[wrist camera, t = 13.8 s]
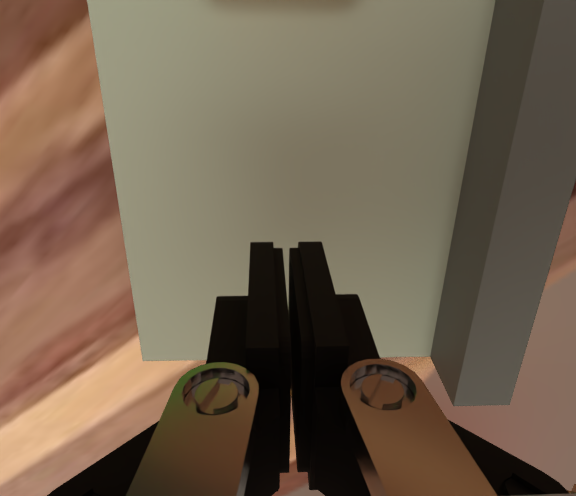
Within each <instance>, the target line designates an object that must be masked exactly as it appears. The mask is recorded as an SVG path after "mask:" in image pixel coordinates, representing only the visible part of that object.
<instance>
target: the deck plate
mask: <svg viewBox="0 0 576 496" xmlns="http://www.w3.org/2000/svg"><path fill="white" fill-rule="evenodd" d="M87 2H88V9H89V15H90V22H91V28H92V35H93V41H94V48H95V54H96V61H97V67H98V74H99V80H100V87H101V93H102V100H103V106H104V113H105V119H106V126H107V132H108V138H109V145H110V151H111V158H112V164H113V171H114V177H115V184H116V190H117V197H118V203H119V210H120V216H121V223H122V229H123V236H124V242H125V249H126V255H127V262H128V268H129V275H130V281H131V288H132V294H133V300H134V307H135V313H136V320H137V326H138V333H139V339H140V346H141V352H142V359H143V361H174V360H207V355H208V348H209V342H210V335H211V329H212V322H213V316H214V310H215V303H216V298H217V296H248V284H249V262H250V242H273V246H274V248H283V259H284V270H285V281H286V292H287V303H288V298H289V249H290V248H298V242H315V241H321V242H322V244H323V248H324V252H325V256H326V260H327V263H328V267H329V271H330V275H331V278H332V282H333V286H334V290H335V294H357V295H358V296H359V298H360V301H361V304H362V307H363V310H364V313H365V316H366V319H367V322H368V325H369V328H370V330H371V333H372V336H373V339H374V342H375V345H376V348H377V351H378V354H379V357H431V359H432V361H433V364H434V366H435V368H436V370H437V372H438V374H439V376H440V379H441V381H442V383H443V385H444V387H445V389H446V391H447V393H448V396H449V397H450V400H451V402H452V404H453V406H478V405H479V406H480V405H510V401H511V398H512V395H513V391H514V388H515V384H516V381H517V378H518V374H519V371H520V367H521V364H522V361H523V357H524V354H525V350H526V347H527V344H528V340H529V337H530V333H531V329H532V327H533V323H534V320H535V316H536V313H537V309H538V306H539V303H540V299H541V296H542V292H543V289H544V286H545V282H546V279H547V275H548V272H549V269H550V265H551V262H552V258H553V255H554V251H555V248H556V245H557V241H558V238H559V234H560V231H561V228H562V224H563V221H564V217H565V214H566V211H567V207H568V204H569V200H570V197H571V193H572V190H573V187H574V183H575V180H576V0H87Z"/></svg>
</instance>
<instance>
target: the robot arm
mask: <svg viewBox="0 0 576 496" xmlns="http://www.w3.org/2000/svg"><path fill="white" fill-rule="evenodd" d="M291 397H292V410H293V422H294V435H295V447H296V460H297V470H298V472H308V480H309V489H310V490H319V491H320V492H321V493H323V494H324V495H325V496H576V484H574V486H573V488H572V491H568V490H566V489H565V488H564V487H563V486H562V485H561V484H560V483H559V482H557V481H556V480H554V479H553V478H551V477H550V476H548V475H547V474H545V473H544V472H542V471H540V470H538V469H537V468H535V467H533V466H531V465H529V464H527V463H526V462H524V461H522V460H520V459H518V458H517V457H515V456H513V455H511V454H509V453H508V452H506V451H504V450H502V449H500V448H498V447H497V446H495V445H493V444H491V443H489V442H487V441H486V440H484V439H482V438H480V437H479V436H477V435H475V434H473V433H471V432H469V431H468V430H466V429H464V428H462V427H460V426H459V425H457V424H455V423H453V422H451V421H449V420H448V419H447V418H446V416H445V415H444V413H443V412H442V410H441V409H440V407H439V406H438V404H437V403H436V401H435V400H434V398H433V397H432V395H431V394H430V392H429V390H428V389H427V387H426V386H425V384H424V383H423V381H422V380H421V379H420V378H419V377H418V375H417V374H416V373H415V372H413V371H412V370H410V369H409V368H407V367H406V366H404V365H402V364H399V363H397V362H394V361H390V360H385V359H380V357H379V354H378V351H377V348H376V345H375V342H374V339H373V336H372V333H371V330H370V328H369V325H368V322H367V319H366V316H365V313H364V310H363V307H362V304H361V301H360V298H359V296H358V295H357V294H335V290H334V286H333V282H332V278H331V275H330V271H329V267H328V263H327V260H326V256H325V252H324V248H323V244H322V242H321V241H315V242H298V248H290V249H289V298H288V303H287V292H286V281H285V270H284V259H283V248H274V246H273V242H250V262H249V284H248V296H217V298H216V303H215V310H214V316H213V322H212V329H211V335H210V342H209V348H208V355H207V361H206V364H205V365H200V366H198V367H196V368H194V369H192V370H190V371H188V372H187V373H186V374H185V375H183V376H182V377H181V378H180V379H179V381H178V382H177V384H176V385H175V387H174V389H173V391H172V393H171V396H170V398H169V400H168V402H167V405H166V407H165V409H164V411H163V413H162V416H161V418H160V420H159V421H158V422H156V423H155V424H153V425H152V426H150V427H149V428H147V429H146V430H144V431H143V432H141V433H140V434H138V435H137V436H135V437H134V438H132V439H131V440H129V441H128V442H126V443H125V444H123V445H122V446H120V447H119V448H117V449H116V450H114V451H113V452H111V453H110V454H108V455H106V456H105V457H103V458H102V459H100V460H99V461H97V462H96V463H94V464H93V465H91V466H90V467H88V468H87V469H85V470H84V471H82V472H81V473H79V474H78V475H76V476H75V477H73V478H72V479H70V480H69V481H67V482H66V483H64V484H63V485H61V486H59V487H58V488H56V489H55V490H54V491H52V492H51V493H50V494H49V495H47V496H272V495H273V494H274V493H275V492H276V491H278V489H279V482H280V473H288V472H289V456H290V407H291Z"/></svg>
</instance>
